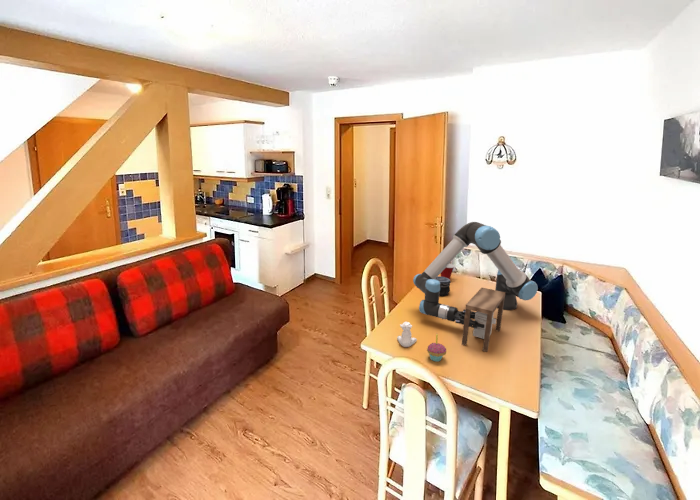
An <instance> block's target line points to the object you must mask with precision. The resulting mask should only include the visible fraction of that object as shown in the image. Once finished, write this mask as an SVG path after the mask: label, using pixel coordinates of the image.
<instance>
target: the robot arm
mask: <svg viewBox="0 0 700 500" xmlns="http://www.w3.org/2000/svg"><path fill="white" fill-rule="evenodd" d="M501 243H502V240H501V236H500V232H499V231H498V230H497V229H496V228H494V227H493V226H491V225H486V224H484V223H481V222H477V221H471V222H469V223H466V224H465V225H463V226H462V227H461V228H460V229H458V230H457V231H456V232H455V233H454V235H453V238H452V239H451V240H450V242H449V243H448V244H447V245H446V246H445V247H444V248H443V249H442V250H441V252H440V253H439V254H438V255H437V256H436V257H435V259H433V260H432V262H431V263H430V264H429V265H428V266H427V267H426V268H425V270H423V272H422V273H417V274H416V275H414V276H413V279H412V282H413V284H414V286H415V287H416V288H417V289H419V291H421V292H422V293H423V294H424V299H422V300H421V301H420V302H419V306H418V311H419V313H420V314H424V315H427V316H429V317H435V318H438V319H441V320H445V321H448V322H449V321H450V322H455V324H459V325H462V326H464V318H465V309H463V311H462V310H459V309H458V307H456V306H452V305H451V306H450V305H449V304H445V303H444V304H443V303H440V302H439V301H440V296H439V294H440V282H439V281H438V280H435V279H436V278H437V276H440V275H441V274H440V273H441V272H442V271H443V270H444V269H445V268H446V267H447V265H448V264H449V263H450V264H451V263H452V262H453V260H454V259H455V258H456V257H457V256H458V254H460V252H461V251H462V250H463V249H464V248H467V247H469V245H471V244H472V245H474V246H476V248H477V249H478V250H479V252H480V253H481V254H483V255H487V257H488V259H490V261H491V262H492V263H493V264H494V266H495V267H496V269H497V274H496V282H495V288H494V290H496V291H501V292H505V299H504V306H503V311H504V310H506V311H511V310H512V311H513V310H516V309H517V308H518V300H517V298H519V299H520V300H522V301H530V300H532V299H533V298H534V297H536V294H537V293H538V289H539V288H538V284H537V283H536V281H533V280H531V279H530V278H529V277H528V275H527V274H526V273H525V271H521V270H520V269H519V268H518V266H517V265H516V263H515V262H514V261H513V260H512V258H511V257H510V256H509V254H508V253H507V252H506V250H505V249H504V248H503V246H502V245H501ZM498 307H499V305H498ZM498 307H497V308H496V309H498ZM476 312H477V311H473V310H471V313H470V321H469V328H472V329H474V328H475V329H477V327H480V328H484V329H485V328H486V323H483V322H479V321H478V322H476V321H475V313H476ZM496 321H497V318H494V317H493V323H492V325H491V330H492V329H493V325H496Z"/></svg>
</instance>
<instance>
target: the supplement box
mask: <svg viewBox="0 0 700 500" xmlns="http://www.w3.org/2000/svg"><path fill="white" fill-rule="evenodd" d="M475 312H476V313H475V319H474V321H476V322H478V321H479V322H483V323H486V320H487V314H485V313H481V312H477V311H475ZM494 314H495V311H494V312H493V316H492V323H493V318H494ZM491 325H492V326H493V324H491ZM491 335H492V330H491V331H490V336H491ZM472 336H473V337H476V338H480V339H483V340H484V336H485V329H484V328H480V327H477V329H475V328H473V331H472Z"/></svg>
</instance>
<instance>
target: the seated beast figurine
mask: <svg viewBox="0 0 700 500" xmlns="http://www.w3.org/2000/svg"><path fill="white" fill-rule="evenodd" d="M399 327H400V328H401V329H402V330H403V331H402V332H401V335H398V336H397V337H396V340H397V341H398V343H399V344H400V345H401V347H404V348H410V347H411V346H413V345H415V343H416V342H417V341H418V339H417V338H416V337H412V335H413V334H412V331H411V329H412V328H413V325H412V324H411V323H410V322H409V321H404V322H403V323H400V324H399Z"/></svg>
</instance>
